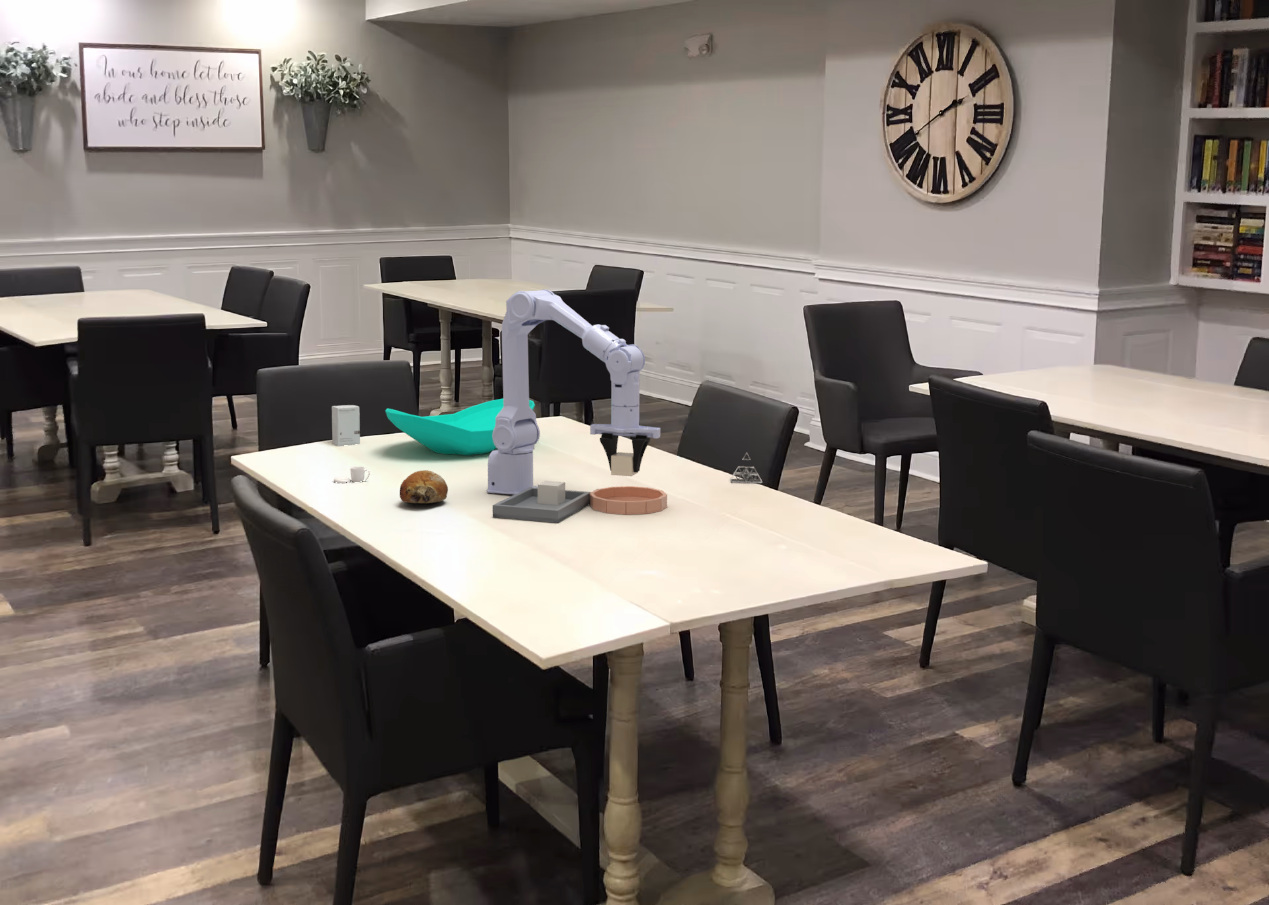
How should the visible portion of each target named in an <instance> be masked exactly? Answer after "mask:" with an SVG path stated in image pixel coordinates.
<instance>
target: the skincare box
mask: <svg viewBox="0 0 1269 905" xmlns="http://www.w3.org/2000/svg"><path fill="white" fill-rule="evenodd" d="M360 415H361V414H360V406H358V405H354V404H347V405H345V404H344V405H343V404H342V405H332V406H331V430H332V431H331V432H332V433H331V434H332V439H331V440H332V441H331V442H332V445H334V446H336V447H345V446H344V445H348V446H354V445H355V444H357V445H360V444H361V433H360V432H361V430H360V428H361V427H360V426H361V424H360V423H361V422H360V420H361V419H360ZM355 446H356V445H355Z"/></svg>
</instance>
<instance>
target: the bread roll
mask: <svg viewBox="0 0 1269 905" xmlns="http://www.w3.org/2000/svg"><path fill="white" fill-rule="evenodd" d="M448 491H449V487H448V484H447V482H446V480H445V478H443V477H442V476H441V475H440V474H438V473H436V472H434V471H431V470H429V469H428V470H427V469H426V470H417V471H414V472H412V473H410V474H409V475H408V476H407V477H406V478H405V479H403V481H402V482H401V484H400V488H399V498H400V500H401V501H402V502H403V503H409V504H433V503H441V502H442V501H444V500H446V499H447V496H448Z"/></svg>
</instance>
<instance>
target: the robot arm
mask: <svg viewBox="0 0 1269 905" xmlns="http://www.w3.org/2000/svg"><path fill="white" fill-rule="evenodd" d="M505 303H506V304H505V306H506V312H505V314H504V317H503V320H502V323H501V353H502V391H503V392H502V394H503V397H502V399H503V402H504V407H503V409H502V410H501V411H500V412H499V414H498V415H497V416H496V424H495V428H494V430H493V435H492V438H493V442H494V445H495V446H496V447H497V448H496V449H494V450H492V451H490V452H489V455H488V460H487V490H486V492H487V493H492V494H500V495H501V494H502V495H515V494H517V493H519V492H521V491H523V490H525V489H527V488H529V487H533V488H538V485H536V486H535V485H534V450H535V445H536V444H537V443H538V442H539V440H540V437H541V431H540V426H539V425H538V421H537V415H536V412H535V411H534V409H533V410H532V409H531V408H530V407H529V400H530V386H529V385H530V384H529V383H530V382H529V380H530V379H529V376H530V375H529V339H528V338H529V336H528V335H529V334H530V332H532V330H534V328H536V326H538V325H539V324H541V323H544V322H546V321H554V322H556V323H557V324H558V325H561V326H562V327H563V328H565V329H566V330H568V331H569V332H571V333H573V334H574V335H575V336H577V337H578V338H580V339H581V342H582V346H583V348H584V349H586V351H589V353H591V354H592V355H594V356H595V357H596V358H598V359H599V360H600V361H602V362H603V363H604V364H605V367H606V370H607V371H608V373H609V375H610V381H611V383H610V384H611V389H610V390H611V394H610V395H611V399H610V400H611V402H610V403H611V408H610V410H611V415H610V416H611V418H610V420H611V421H610V422H611V423H608V424H607V423H591V424H590V425H589V426H590V427H589V428H590V432H589V434H590V435H601V436H600V437H599V442H600V445H602V447H603V450H604V453H605V454H606V457H607V461H608V465H609V470H610V472H611V456H612V455H614V454H616V453H618V442H619V437H620V436H621V437H634V438H632V439H631V443H632V453H633V472H638V473H639V472H640V468H641V465H642V461H643V458H644V454H645V451H646V449H647V447H648V445H649V443H650V441H651V438H653V439H659V438H661V427H654V426H644V425H640V380H641V375H640V374H641V373H640V372H641V371H642V370H643V368H644V367H645V364H646V356H645V354H644V352H643V350H642V349H641V348H640V347H639V345H637V344H627V343H626V342H627V341H626V340H625V339H624V338H619V337H618V336H617V335H615V334H614V333H612V332H611V331H609V329H610V327H609V326H607V325H606V324H593V325H592V324H591V323H589V321H587V320H586V319H584V317H582V316H581V315H580V314H579V313H577V312H576V311H575V310H574V309H572V308H571V307H570V306H569V305H567V304H566V303H565V302H564V301H563V299H562V298H561V296H559V295H557V294H555V293H554V292H553V291H551V290H549V289H546V288H545V289H544V288H543V289H539V290H518V291H516V292H514V293H513V294H512V295H511V296H510V297H509V298H507V300H506V301H505Z"/></svg>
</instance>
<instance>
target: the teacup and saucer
mask: <svg viewBox="0 0 1269 905" xmlns="http://www.w3.org/2000/svg"><path fill="white" fill-rule="evenodd" d="M349 470H350V478H351V479H350V478H348V477H344V476H336V477H334V479H333V481H334V483H335V482H337V483H336V484H340V483H342V484H347V483H346V482H349V483H351V482H352V481H353V482H352V483H354V482H360V481H363V480H366V481H367V480H368V479H369V477H370V475H371V473H370V472H371V471H370V470H369V469H366V467H364V466H352V467H350V469H349ZM366 471H367V473H368V475H367V476H366V478H365V472H366ZM350 480H351V482H350ZM360 483H361V482H360Z"/></svg>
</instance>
